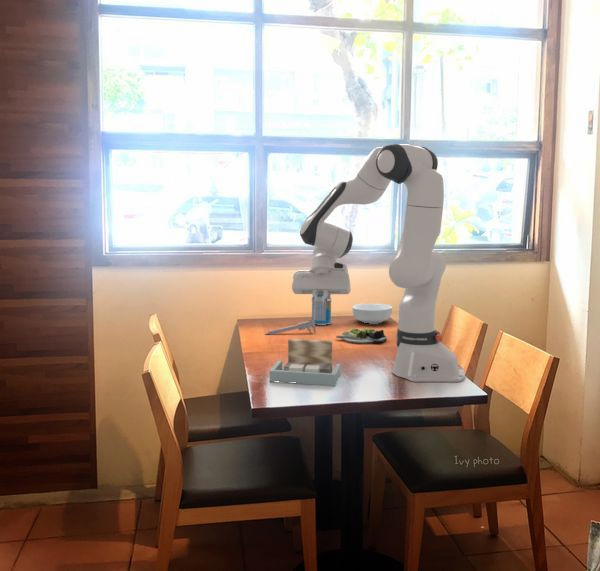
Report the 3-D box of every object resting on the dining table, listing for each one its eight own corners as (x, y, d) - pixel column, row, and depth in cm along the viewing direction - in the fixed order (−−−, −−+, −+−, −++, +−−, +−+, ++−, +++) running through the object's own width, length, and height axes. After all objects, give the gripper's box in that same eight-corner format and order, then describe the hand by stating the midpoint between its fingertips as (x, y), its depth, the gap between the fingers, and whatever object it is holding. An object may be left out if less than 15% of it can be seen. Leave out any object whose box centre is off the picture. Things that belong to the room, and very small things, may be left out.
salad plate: (339, 346, 239) (339, 334, 239) (332, 335, 257) (332, 323, 256) (390, 345, 241) (390, 333, 240) (380, 333, 259) (380, 322, 258)
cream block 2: (319, 377, 200) (320, 365, 200) (317, 381, 196) (317, 369, 196) (307, 377, 201) (307, 364, 200) (304, 381, 197) (304, 368, 196)
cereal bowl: (387, 318, 287) (387, 302, 286) (395, 326, 270) (395, 309, 269) (349, 318, 286) (349, 302, 285) (355, 327, 269) (355, 310, 268)
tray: (340, 374, 203) (340, 363, 203) (334, 386, 192) (335, 374, 191) (278, 370, 207) (278, 360, 207) (269, 381, 196) (269, 370, 195)
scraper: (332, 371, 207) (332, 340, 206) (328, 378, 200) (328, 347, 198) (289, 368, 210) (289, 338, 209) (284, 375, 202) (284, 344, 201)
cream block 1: (304, 377, 201) (304, 364, 201) (301, 380, 197) (301, 368, 197) (291, 376, 202) (291, 363, 201) (289, 380, 198) (289, 367, 197)
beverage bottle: (314, 326, 271) (314, 279, 267) (309, 321, 279) (309, 276, 275) (333, 325, 273) (334, 278, 269) (328, 320, 281) (328, 275, 278)
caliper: (315, 332, 260) (315, 317, 259) (315, 333, 259) (315, 318, 258) (264, 334, 257) (264, 319, 256) (264, 335, 256) (264, 319, 255)
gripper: (292, 265, 226) (287, 297, 218) (350, 264, 222) (347, 297, 214) (295, 276, 231) (290, 307, 223) (352, 276, 227) (349, 308, 219)
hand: (319, 302), depth 219 cm, fingers closed
